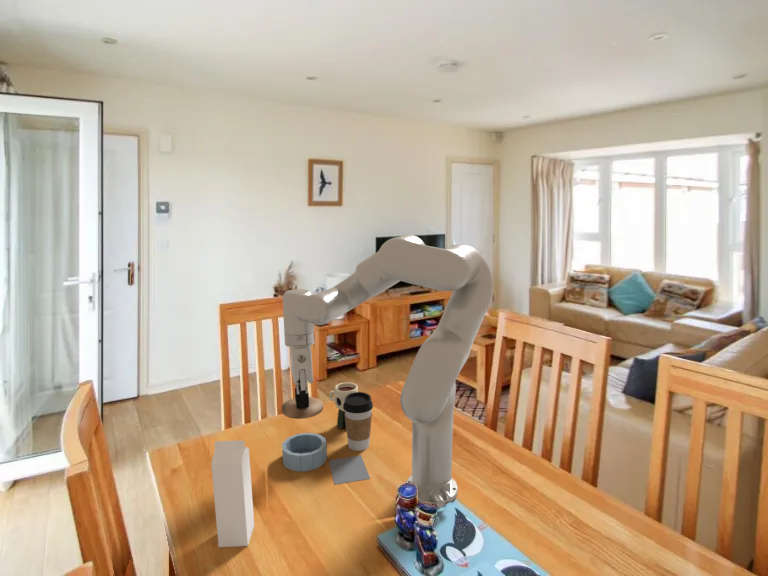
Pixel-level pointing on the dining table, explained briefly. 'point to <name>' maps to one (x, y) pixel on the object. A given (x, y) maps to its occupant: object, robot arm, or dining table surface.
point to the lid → (292, 411)
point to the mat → (348, 470)
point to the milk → (232, 493)
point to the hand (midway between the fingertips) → (302, 404)
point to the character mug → (342, 399)
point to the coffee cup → (358, 420)
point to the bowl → (304, 451)
